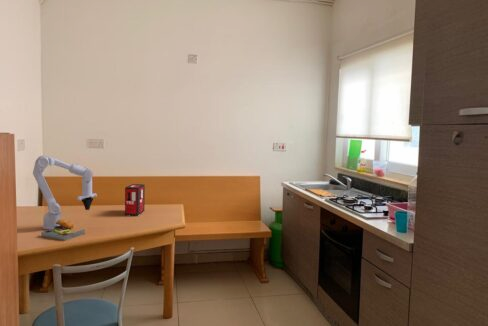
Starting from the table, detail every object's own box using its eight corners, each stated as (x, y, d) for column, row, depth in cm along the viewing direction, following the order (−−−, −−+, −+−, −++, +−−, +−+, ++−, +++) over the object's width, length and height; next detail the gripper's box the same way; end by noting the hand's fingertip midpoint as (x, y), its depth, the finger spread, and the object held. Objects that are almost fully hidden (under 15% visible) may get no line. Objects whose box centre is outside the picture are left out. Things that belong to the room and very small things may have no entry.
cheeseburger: (46, 235, 210) (50, 218, 211) (64, 236, 218) (68, 219, 220) (56, 239, 204) (60, 220, 205) (74, 239, 213) (78, 221, 214)
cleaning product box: (132, 210, 278) (132, 184, 276) (144, 211, 278) (144, 184, 276) (124, 215, 261) (125, 187, 260) (137, 216, 261) (137, 188, 259)
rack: (41, 236, 208) (41, 231, 208) (62, 230, 222) (62, 225, 222) (64, 240, 202) (64, 235, 202) (84, 233, 216) (84, 228, 216)
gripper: (83, 190, 224) (83, 212, 225) (100, 187, 237) (100, 208, 239) (74, 189, 226) (74, 211, 228) (91, 186, 240) (91, 206, 241)
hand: (87, 209), depth 233 cm, fingers closed
